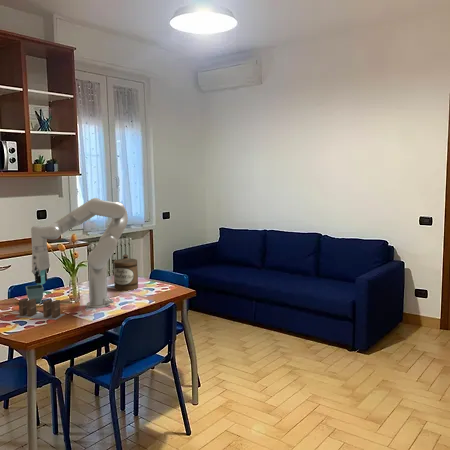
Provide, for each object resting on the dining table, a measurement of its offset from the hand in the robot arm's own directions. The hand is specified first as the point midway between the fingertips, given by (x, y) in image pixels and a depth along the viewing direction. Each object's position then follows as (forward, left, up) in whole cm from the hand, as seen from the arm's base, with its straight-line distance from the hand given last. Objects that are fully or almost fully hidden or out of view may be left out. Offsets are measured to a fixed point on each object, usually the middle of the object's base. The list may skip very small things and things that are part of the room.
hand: (41, 281), depth 251 cm
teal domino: (0, 0, -1) cm, 1 cm away
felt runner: (-6, +12, -15) cm, 20 cm away
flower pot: (+11, -11, -16) cm, 22 cm away
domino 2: (-1, +12, -15) cm, 19 cm away
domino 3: (-10, +12, -15) cm, 22 cm away
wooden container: (-28, -51, -16) cm, 60 cm away
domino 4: (-15, +12, -15) cm, 24 cm away
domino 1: (+3, +12, -15) cm, 19 cm away
